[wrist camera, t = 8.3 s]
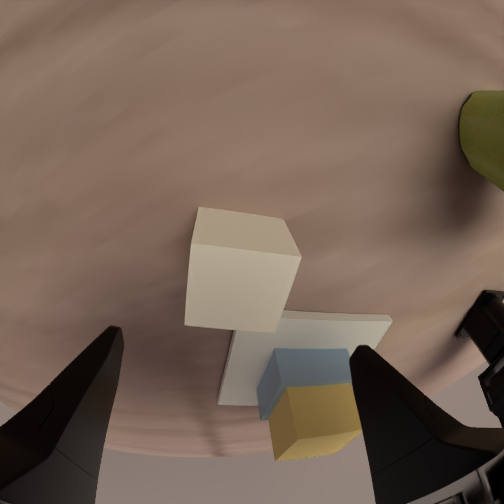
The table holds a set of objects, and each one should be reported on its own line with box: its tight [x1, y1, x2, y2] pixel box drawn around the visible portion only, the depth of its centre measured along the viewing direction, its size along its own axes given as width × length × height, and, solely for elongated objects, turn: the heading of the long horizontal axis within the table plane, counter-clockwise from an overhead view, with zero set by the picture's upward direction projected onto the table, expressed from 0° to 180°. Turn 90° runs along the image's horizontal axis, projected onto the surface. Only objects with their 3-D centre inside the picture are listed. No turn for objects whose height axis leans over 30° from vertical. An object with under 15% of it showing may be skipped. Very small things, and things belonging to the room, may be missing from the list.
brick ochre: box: [268, 383, 362, 461], centre depth 16 cm, size 5×5×4 cm
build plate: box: [218, 310, 393, 406], centre depth 21 cm, size 12×12×1 cm
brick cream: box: [185, 207, 302, 333], centre depth 14 cm, size 4×4×4 cm
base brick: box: [256, 348, 352, 420], centre depth 19 cm, size 6×6×3 cm
